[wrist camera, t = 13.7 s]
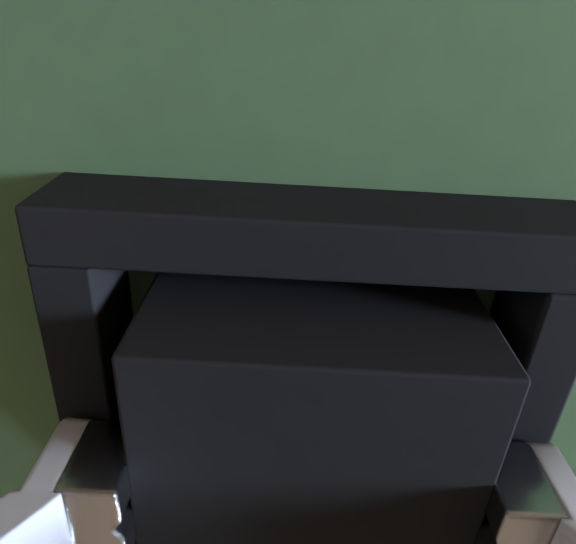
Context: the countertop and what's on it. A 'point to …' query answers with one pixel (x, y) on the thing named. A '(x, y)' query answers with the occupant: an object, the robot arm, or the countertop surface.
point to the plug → (313, 411)
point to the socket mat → (279, 176)
